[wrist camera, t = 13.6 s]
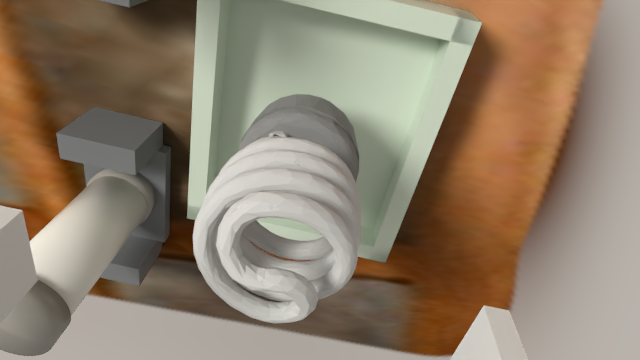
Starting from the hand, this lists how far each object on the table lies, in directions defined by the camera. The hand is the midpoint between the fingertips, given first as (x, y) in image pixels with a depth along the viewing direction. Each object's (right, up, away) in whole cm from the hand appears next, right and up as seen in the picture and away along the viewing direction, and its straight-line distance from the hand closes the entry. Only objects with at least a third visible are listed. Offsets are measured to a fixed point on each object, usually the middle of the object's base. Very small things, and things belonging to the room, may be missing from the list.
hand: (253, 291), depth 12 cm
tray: (+2, +7, +11) cm, 13 cm away
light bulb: (+1, +6, +10) cm, 12 cm away
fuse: (-10, +3, +15) cm, 18 cm away
